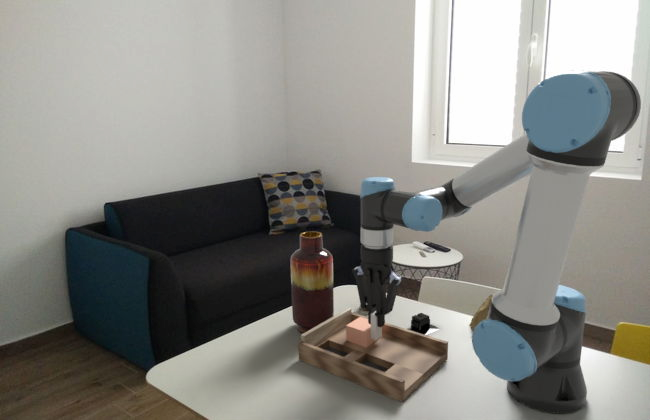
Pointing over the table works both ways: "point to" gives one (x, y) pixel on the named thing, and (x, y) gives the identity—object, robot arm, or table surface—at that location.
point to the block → (359, 332)
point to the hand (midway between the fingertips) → (376, 337)
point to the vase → (311, 282)
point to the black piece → (422, 324)
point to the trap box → (374, 356)
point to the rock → (481, 313)
